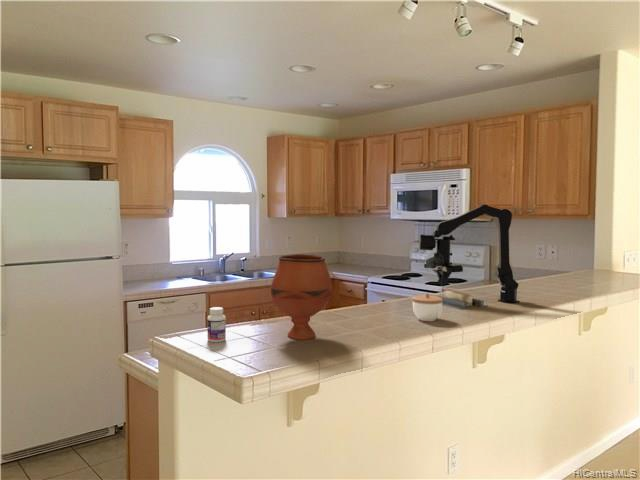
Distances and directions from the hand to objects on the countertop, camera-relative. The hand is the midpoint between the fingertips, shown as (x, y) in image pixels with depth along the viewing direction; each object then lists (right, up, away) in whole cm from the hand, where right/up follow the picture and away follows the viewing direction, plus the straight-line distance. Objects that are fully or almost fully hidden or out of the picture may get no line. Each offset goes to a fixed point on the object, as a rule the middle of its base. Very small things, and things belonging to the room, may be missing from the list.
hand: (442, 286), depth 223 cm
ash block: (+5, -7, -8) cm, 12 cm away
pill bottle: (-84, -10, -69) cm, 109 cm away
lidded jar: (-15, -9, -38) cm, 42 cm away
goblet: (-59, -10, -63) cm, 87 cm away
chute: (+5, -7, -9) cm, 12 cm away
